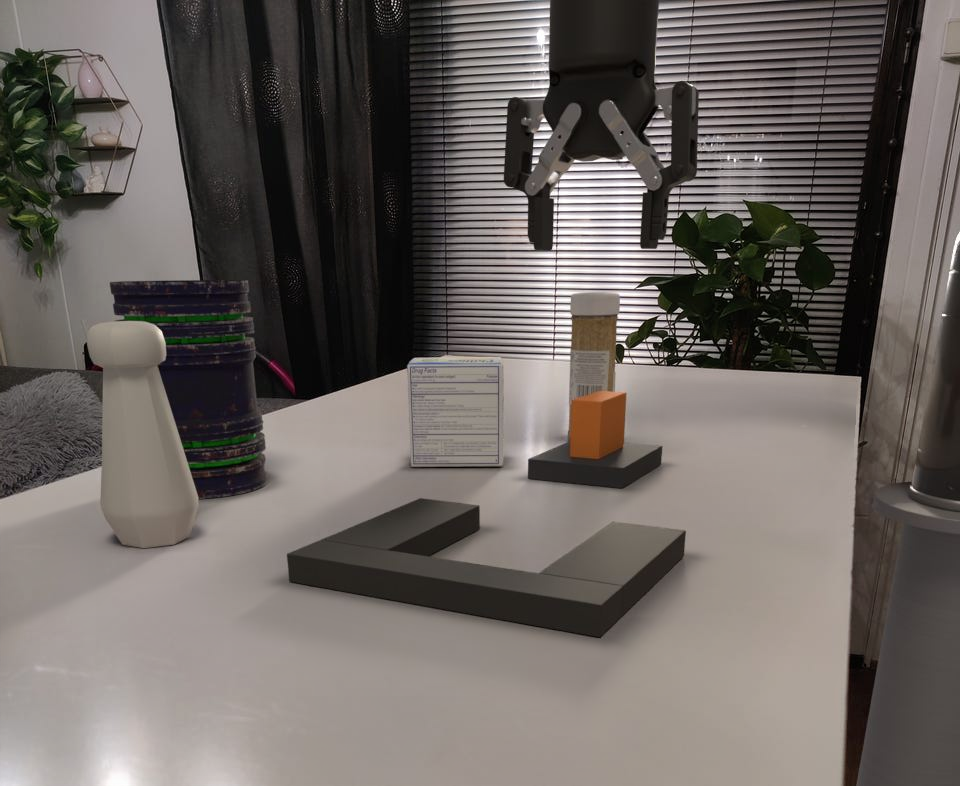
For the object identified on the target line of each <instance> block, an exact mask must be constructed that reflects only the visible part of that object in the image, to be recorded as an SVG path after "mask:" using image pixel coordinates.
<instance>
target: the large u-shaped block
mask: <svg viewBox="0 0 960 786" xmlns="http://www.w3.org/2000/svg"><path fill="white" fill-rule="evenodd" d="M480 508H481V506H480V505H478V504H471V503H463V502H455V501H448V500H440V499H439V500H438V499H430V498H423V497H422V498H421V497H420V498H418V499H414V500H413V501H410V502H408V503H406V504H403V505H400V506H398V507H396V508H394V509H391V510H389V511H386V512H384V513H381V514H378V515H377V516H375V517H372V518H370V519H367V520H365V521H362V522H360V523H357V524H355V525H353V526H350V527H348V528H346V529H343V530H341V531H338V532H336V533H334V534H331V535H329V536H326V537H324V538H322V539H319V540H317V541H313V542H312V543H309V544H307V545H305V546H303V547H300V548H297V549H295V550H292V551H291V552H287V554H286V562H287V571H288V580H289V581H288V582H290V583H296V584H301V585H306V586H307V585H308V586H313V587H319V588H323V589H330V590H335V591H341V592H345V593H351V594H357V595H363V596H368V597H373V598H380V599H386V600H391V601H395V602H401V603H407V604H413V605H418V606H424V607H430V608H433V609H434V608H435V609H439V610H446V611H450V612H455V613H462V614H467V615H474V616H478V617H479V616H480V617H484V618H489V619H490V618H491V619H495V620H501V621H506V622H511V623H512V622H513V623H517V624H518V623H519V624H523V625H528V626H535V627H540V628H545V629H551V630H556V631H563V632H569V633H574V634H578V635H579V634H580V635H585V636H590V637H595V638H601V637H602V636H603V635H604V634H606V632H607V631H608V630H609V629H611V627H612V626H614V624H616V623H617V622H618V621H619V620H620V619H621V618H622V617H623V616H624V615H625V614H626V613H627V612H628V611H629V610H630V609H631V608H632V607H633V606H634V605H635V604H636V603H637V602H638V601H639V600H641V598H642V597H643V596H644V595H645V594H647V592H649V591H650V590H651V588H652V587H654V586H655V585H656V584H657V583H658V582H659V581H660V580H661V579H662V578H663V577H664V576H665V575H666V574H667V573H668V572H669V571H670V570H671V569H672V568H673V567H674V566H675V565H676V564H677V563H679V561H680V560H682V559H683V558H684V556H685V549H686V548H685V547H686V535H687V531H686V530H685V529H679V528H671V527H670V528H669V527H662V526H655V525H654V526H653V525H646V524H636V523H629V522H620V521H612V522H610V523H609V524H607V525H606V526H604V527H603V528H602V529H600V530H599V531H597V532H596V533H594V534H592V535H591V536H590V537H588V538H587V539H586V540H583V542H581V543H580V544H578V545H577V546H575V547H574V548H572V549H571V550H569V551H568V552H567V553H565V554H563V556H561V557H559V558H558V559H557V560H555V561H554V562H552V563H551V564H549V565H548V566H547V567H545V568H543V569H542V570H541V571H539V572H533V571H526V570H520V569H515V568H514V569H513V568H507V567H500V566H493V565H487V564H480V563H475V562H474V563H473V562H466V561H461V560H453V559H448V558H440V557H434V556H432V555H433V554H435V553H437V552H438V551H441V550H443V549H444V548H447V547H448V546H450V545H452V544H454V543H456V542H458V541H460V540H461V539H464V538H465V537H468V536H469V535H472V534H473V533H475V532H477V531H479V530H480V528H481V521H480V519H481V517H480V516H481V513H480V512H481V511H480V510H481V509H480Z"/></svg>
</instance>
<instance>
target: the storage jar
mask: <svg viewBox="0 0 960 786" xmlns="http://www.w3.org/2000/svg"><path fill="white" fill-rule="evenodd" d="M109 288H110V294H111V295H113V301H114V303H113V304H112V308H113V314H114V316H121V317H123V318H122V319H115V320H113V322H115V321H143V322H148V323H151V324H154V325H156V326H157V327H158V328H159V329H160V330H161V331H162V333H163V337H164V340H165V344H166V359H165V361H163V362H162V363H160V364H158V365H157V366H158V369H159V372H160V375H161V379H162V382H163V385H164V388H165V392H166V395H167V398H168V401H169V404H170V408H171V411H172V414H173V417H174V421H175V424H176V427H177V430H178V433H179V437H180V440H181V443H182V446H183V449H184V453H185V456H186V459H187V462H188V466H189V469H190V472H191V475H192V478H193V482H194V485H195V488H196V491H197V495H198V500H201V499H203V500H204V499H215V498H223V497H230V496H237V495H241V494H246V493H249V492H253V491H256V490H259V489H261V488H263V487H265V486H266V485H267V484H268V473H267V472H266V470H265V463H266V461H267V459H266V455H265V454H264V453H263V452H265V451H266V449H267V446H266V435H265V433H263V430H264V420H263V414H262V412H261V411H260V409H259V407H258V401H257V390H256V389H257V388H256V381H255V379H256V378H255V369H254V361H255V359H256V357H257V355H256V354H257V353H256V349H257V347H256V344H255V338H254V337H252V336H246V335H250V334H254V333H255V330H254V329H255V323H254V317H251V316H244V314H248V313H251V312H252V307H251V301H250V300H249V297H248V293H249V292H250V287H249V280H247V279H204V280H203V279H200V280H199V279H196V280H195V279H191V280H188V279H187V280H185V279H183V280H181V279H180V280H179V279H177V280H127V281H125V280H123V281H122V280H121V281H120V280H119V281H109Z"/></svg>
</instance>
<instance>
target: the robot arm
mask: <svg viewBox="0 0 960 786" xmlns="http://www.w3.org/2000/svg"><path fill="white" fill-rule="evenodd" d="M659 8H660V0H549V34H548V35H549V36H548V78H549V84H548V90H547V93H546V95H545V97H544V99H525V98H522V97H517V96H513V97H511V98H510V99H509V100H508V102H507V108H506V125H505V126H506V127H505V128H506V129H505V145H504V146H505V147H504V163H503V183H504V184H505V186H506V187H507V188H511V189H515V190H517V191H520V192H522V193H524V195H525V196H526V199H527V239H528V241H529V243H533V249H534V251H537V252H550V251H552V250H553V247H554V216H555V198H551V194H552V192H553V191H554V189H555V187H556V186H557V184H558V183H559V182H560V180H561V178H562V177H563V175H564V174H566V173H567V172H568V171H569V170H570V169H571V167H572V165H573V164H574V162H575V161H579V162H585V163H586V162H594V161H597V160H600V159H603V158H604V159H607V160H612V161H618V160H619V161H621V160H623V158H625V157H626V159H627V161H628V162H629V163H630V164H631V165H632V167H634V169H635V170H636V171H637V173H638V175H639V177H640V179H641V180H642V181H643V183H644V185H645V186H646V188H647V189H646V191H645V192H642V202H641V219H640V220H641V221H640V236H639V237H640V238H639V247H640V249H642V250H657V249H658V246H659V241H664V239H665V237H666V235H667V231H668V228H667V227H668V217H669V215H668V214H669V201H670V195H671V192H672V191H673V190H674V188H676V187H677V186H679V185H682V184H684V183H686V182H691V181H693V180H694V179H695V178H696V177H697V175H698V174H697V173H698V149H699V148H698V147H699V146H698V143H699V141H698V140H699V139H698V138H699V102H700V101H699V100H700V99H699V98H700V97H699V96H700V93H699V90H698V88H697V87H695V86H694V85H692V84H690V83H688V82H687V81H685V80H679V81H677V82H676V83H675V84H674V85H673V86H670V87H664V88H657V86H656V81H655V70H656V62H657V61H656V60H657V59H656V58H657V44H658V43H657V42H658V41H657V39H658V24H659V10H660V9H659ZM659 108H661V109H662V112H663V116H664V118H665V120H666V121H668V122H670V123H671V125H670V126H671V128H670V131H671V135H670V164H669V165H667V166H664V164H663V162H662V161H661V160H660V158H659V154H658V152H657V150H656V149H655V147H654V145H653V144H652V142H651V141H650V139H649V137H648V136H647V134H646V133H645V131H646V129H647V128H648V126H649V124H650V123H651V121H652V120H653V118H654V117H655V115H656V113H657V112H658V110H659ZM543 119H545V121H546V122H547V124H548V126H549V128H550V129H551V131H552V133H551V135H550V137H549V139H548V140H547V142H546V144H545V145H544V147H543V148H542V150H541V152H540V153H539V155H538V162H537V163H536V165H535V166H534V168H533V156H534V141H535V133H537V132H538V131H539V129H540V127H541V123H542V121H543ZM949 270H950V271H949V272H948V277H947V282H946V288H945V293H944V300H943V305H942V310H941V317H940V321H939V322H940V323H939V329H938V334H937V340H936V345H935V352H934V357H933V362H932V368H931V374H930V378H929V383H928V391H927V395H926V402H925V407H924V412H923V419H922V424H921V430H920V434H919V440H918V447H917V451H916V457H915V462H914V468H913V474H912V480H911V482H912V483H911V484H910V488H909V494H908V496H909V497H910V498H911V499H912V500H914V501H916V502H918V503H921V504H923V505H927V506H930V507H934V508H938V509H943V510H948V511H954V512H960V231H959V232H958V234H957V236H956V238H955V241H954V245H953V249H952V255H951V259H950V266H949Z"/></svg>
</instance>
